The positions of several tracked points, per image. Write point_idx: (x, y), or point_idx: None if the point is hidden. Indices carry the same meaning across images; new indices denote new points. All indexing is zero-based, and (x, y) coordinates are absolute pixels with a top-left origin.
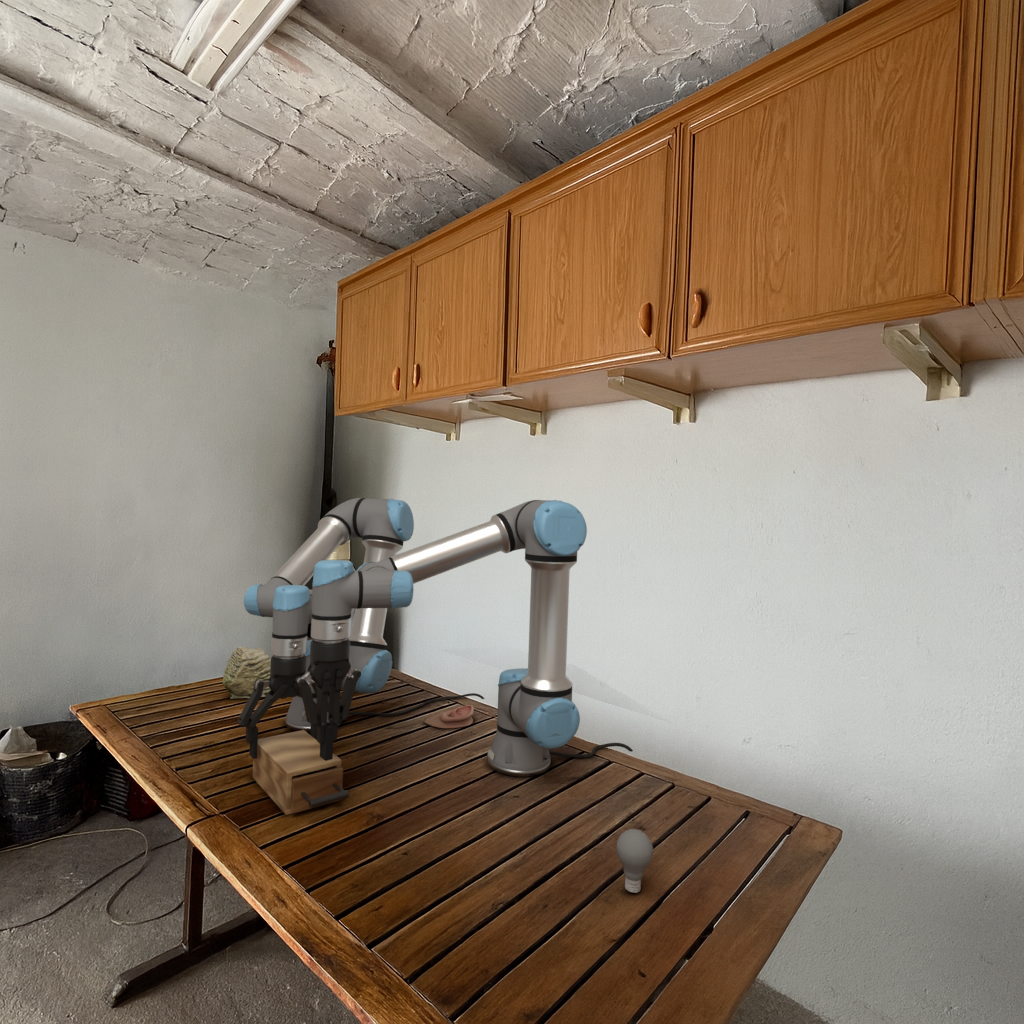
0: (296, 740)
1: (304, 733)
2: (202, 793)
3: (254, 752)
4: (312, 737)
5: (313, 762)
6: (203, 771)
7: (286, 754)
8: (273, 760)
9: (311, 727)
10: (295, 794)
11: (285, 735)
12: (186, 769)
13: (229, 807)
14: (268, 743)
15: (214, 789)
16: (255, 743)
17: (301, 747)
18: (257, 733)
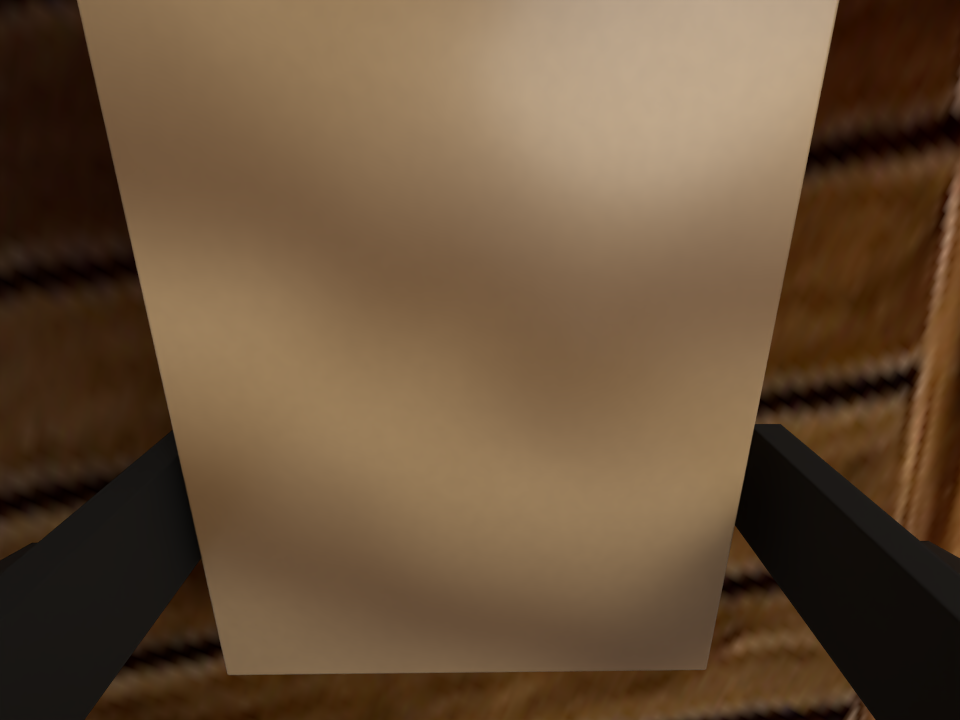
0: (371, 480)
1: (243, 600)
2: (896, 433)
3: (808, 452)
4: (190, 471)
5: None
6: (768, 649)
7: (626, 142)
8: (817, 78)
9: (138, 618)
10: None
11: (425, 637)
12: (814, 698)
13: (890, 178)
14: (640, 543)
15: (829, 445)
16: (864, 508)
17: (387, 260)
18: (945, 600)
